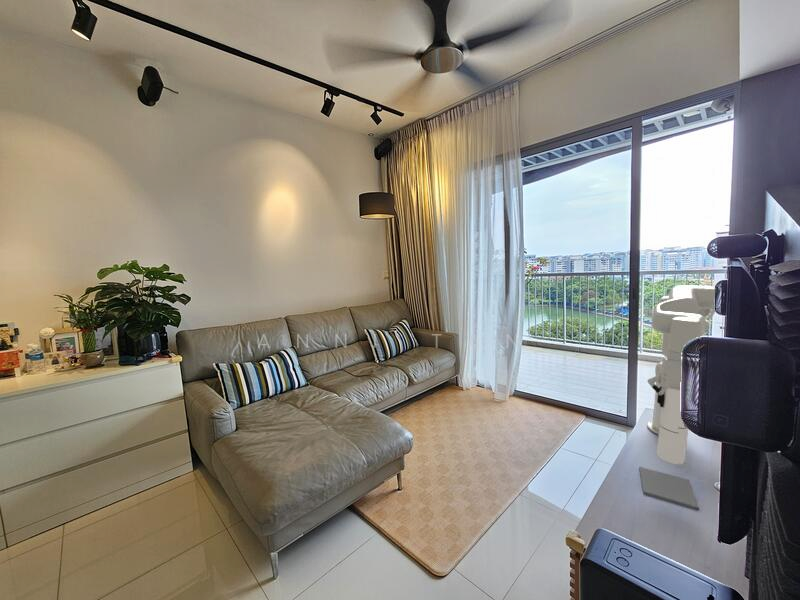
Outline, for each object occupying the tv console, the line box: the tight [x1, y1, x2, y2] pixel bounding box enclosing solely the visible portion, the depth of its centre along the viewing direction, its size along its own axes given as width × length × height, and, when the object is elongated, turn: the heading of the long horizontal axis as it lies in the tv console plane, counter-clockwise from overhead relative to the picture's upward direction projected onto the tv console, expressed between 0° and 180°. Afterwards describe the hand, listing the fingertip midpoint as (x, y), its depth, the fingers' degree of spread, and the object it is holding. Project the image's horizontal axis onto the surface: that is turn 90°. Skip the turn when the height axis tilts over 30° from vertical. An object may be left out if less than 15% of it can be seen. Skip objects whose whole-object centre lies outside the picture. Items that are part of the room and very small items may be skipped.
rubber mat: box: [638, 466, 700, 510], centre depth 112 cm, size 14×14×1 cm
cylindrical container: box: [656, 388, 689, 465], centre depth 107 cm, size 7×7×25 cm
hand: (676, 407), depth 107 cm, fingers closed on cylindrical container, 7 cm apart
